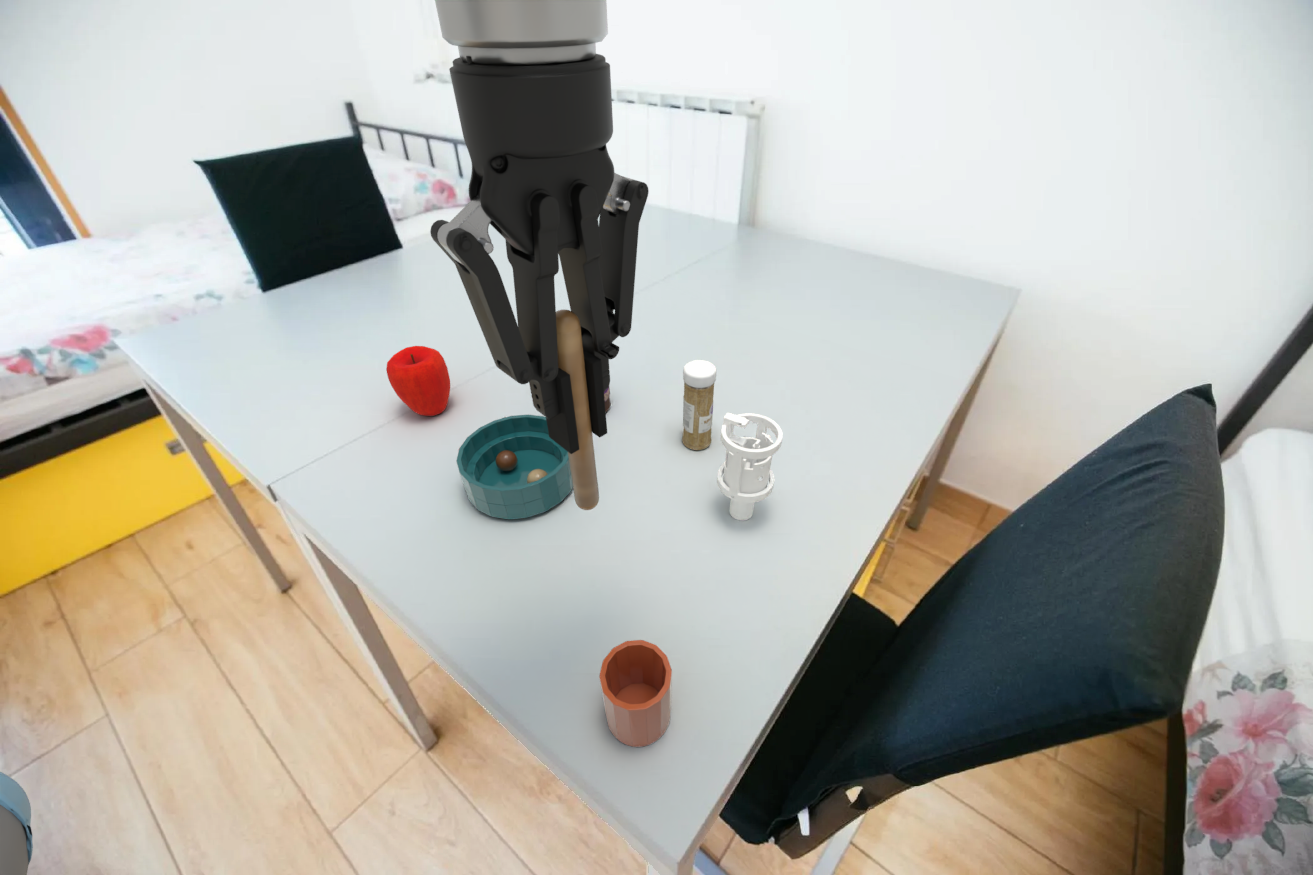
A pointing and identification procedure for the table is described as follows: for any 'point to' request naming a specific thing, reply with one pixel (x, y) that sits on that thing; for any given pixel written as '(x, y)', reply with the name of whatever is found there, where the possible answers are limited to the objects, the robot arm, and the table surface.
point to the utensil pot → (636, 692)
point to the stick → (578, 409)
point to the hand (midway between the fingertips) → (578, 434)
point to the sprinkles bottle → (698, 403)
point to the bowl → (509, 488)
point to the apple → (420, 379)
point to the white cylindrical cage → (747, 463)
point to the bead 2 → (536, 475)
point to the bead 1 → (506, 460)
